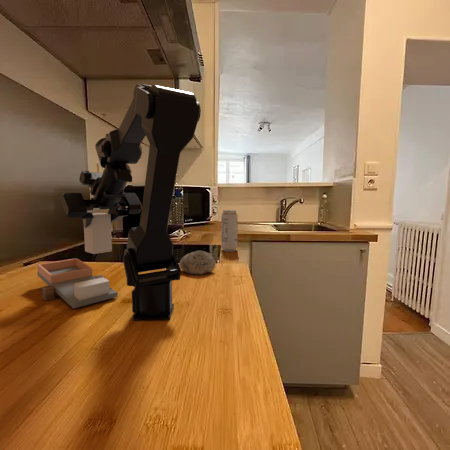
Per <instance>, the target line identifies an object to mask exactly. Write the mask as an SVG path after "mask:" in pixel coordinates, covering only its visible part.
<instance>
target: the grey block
mask: <svg viewBox="0 0 450 450" xmlns="http://www.w3.org/2000/svg"><path fill="white" fill-rule="evenodd" d="M92 214H93V216H94V218H93V219H92V221H91V222H90V224H89V225H88V226H87V227H86V228H85V227H84V226H83V233H84V234H83V237H84V251H85V252H86V253H89V254H93V255H96V254H103V253H109V252H113V247H112V245H113V244H112V242H113V241H112V240H113V239H112V223H111V214H108V212H107V213H106V212H96V213H95V212H94V213H93V212H92Z"/></svg>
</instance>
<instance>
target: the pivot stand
mask: <svg viewBox="0 0 450 450" xmlns="http://www.w3.org/2000/svg"><path fill="white" fill-rule="evenodd" d="M93 276H94V277H95V278H102V277H104V278H106V276H104V275H102V274H98V275H93ZM55 298H56V297H55V291H54V288H53V287H52V286H50V285H49V286H48V285H45V286H41V299H42V300H44V301H45V302H47V301H51V300H52V301H53V300H55Z"/></svg>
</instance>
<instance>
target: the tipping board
mask: <svg viewBox="0 0 450 450" xmlns="http://www.w3.org/2000/svg"><path fill="white" fill-rule="evenodd" d="M36 271H37V277H39V278H40V280H42V281H43V282H44V283H45V284H46V286H49V285H50V286H52V287H53V288H54V293H56V294H57V295H58V297H60V298H61V299H63V300H64V301H65V303H66V304H68V305H69V306H70V307H71V308H72V309H77V308H81V307H84V306H89V305H93V304H94V303H99V302H103V301H106V300H111V299H115V298H118V291H116V290H114V289H113V288H112V287H110V280H109V279H107V278H106V277H105V276H104V277H105V278H104V277H102V278H95V277H94V276H95V275H93V267H91V266H90V265H88V264H86V262H83V261H82V260H81V259H79V258H77V257H76V258H71V259H69V258H68V259H64V260H57V261H51V262H44V263H38V264H37V270H36Z"/></svg>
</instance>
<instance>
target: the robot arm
mask: <svg viewBox="0 0 450 450" xmlns="http://www.w3.org/2000/svg"><path fill="white" fill-rule="evenodd" d="M132 97H133V99H132V100H131V102H130V105H129V106H128V109H127V111H126V113H125V116H124V117H123V120H122V122H121V123H120V124H119V125H120V126H119V127H118V128H115V129H113V130H111V131H109V132H108V133H106V134H105V137H103V138H100V139H99V140H98V141H97V142H96V143H95V145H94V146H95V150H96V154H97V159H98V161H99V163H100V167H101V168H104V169H103V171H102V172H97V171H95V172H94V171H89V170H81V172H80V175H79V180H78V181H79V182H80V183H81V184H82V186H88V187H89V188H90V190H89V193H90V195H91V196H93V197H91V198H90V199H84V197H83V195H82V192H63V193H62V194H61V196H60V197H61V198H60V203H61V205H62V208H63V210H64V213H65V214H66V217H68V218H70V219H71V218H72V219H73V218H80V219H82V224H83V228H84V227H85V228H86V227H87V226H88V225H89V224H90V222H91V221H92V219H93V218H94V216H93V214H92V213H93V211H94V210H108V211H107V213H108V214H111V224H112V223H115V222H116V221H118V220H120V219H122V218H124V217H127V216H129V214H130V215H139V214H140V219H139V221H140V222H139V224H138V225H137V226H136V227H131V228H130V229H129V230H128V234H127V243H126V248H125V249H124V252H123V257H122V263H123V267H124V271H125V272H124V273H125V277H126V286H128V287H134V288H133V289H132V291H131V308H132V309H131V311H132V313H133V316H132V320H133V321H148V320H149V321H153V320H154V321H156V320H157V321H159V320H161V321H162V320H163V321H164V320H165V321H166V320H167V321H168V320H170V319H171V317H172V314H173V310H174V307H175V303H173V281H180V280H181V275H182V269H181V267H180V263H179V261H178V259H177V256H176V254H175V251H174V244H173V241H172V239H171V237H170V235H169V233H168V227H169V220H170V214H171V208H172V203H173V196H174V192H175V185H176V180H177V174H178V173H177V172H178V169H179V162H180V156H181V153H182V151H183V150H184V149H185V148H186V147H187V146H188V145H189V143H190V142H191V141H192V140H193V138H194V137H195V133H196V130H197V125H198V123H199V121H200V117H201V111H202V109H201V106H200V103H199V101H197V97H196V95H195V94H194V93H193V92H190V91H185V90H180V89H177V88H176V89H175V88H171V87H165V86H161V85H157V84H152V85H149V84H145V83H140V84H136V85H135V87H134V89H133V96H132ZM145 138H147V141H148V143H149V150H148V157H147V165H146V172H145V173H146V174H145V179H144V180H145V181H144V190H143V197H142V203H141V201H140V199H139V197H138V196H137V194H136V192H125V188H126V186H127V184H128V183H132V182H133V176H132V168H131V167H130V165H136V164H138V163H139V162H140V161H139V160H140V159H141V158H142V155H143V148H142V145H141V144H142V142H143V140H145ZM129 164H130V165H129ZM158 270H159V271H158ZM139 273H140V274H139Z"/></svg>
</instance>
